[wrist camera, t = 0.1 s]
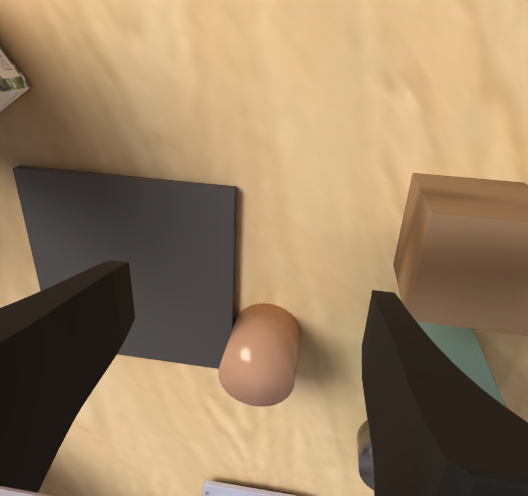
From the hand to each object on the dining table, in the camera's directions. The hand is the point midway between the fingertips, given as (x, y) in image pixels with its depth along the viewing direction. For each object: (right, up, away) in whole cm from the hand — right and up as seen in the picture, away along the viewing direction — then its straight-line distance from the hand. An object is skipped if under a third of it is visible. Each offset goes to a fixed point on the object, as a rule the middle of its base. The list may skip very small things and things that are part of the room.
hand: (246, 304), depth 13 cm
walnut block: (+10, +3, +9) cm, 14 cm away
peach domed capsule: (+1, -3, +14) cm, 14 cm away
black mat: (-7, 0, +13) cm, 15 cm away
